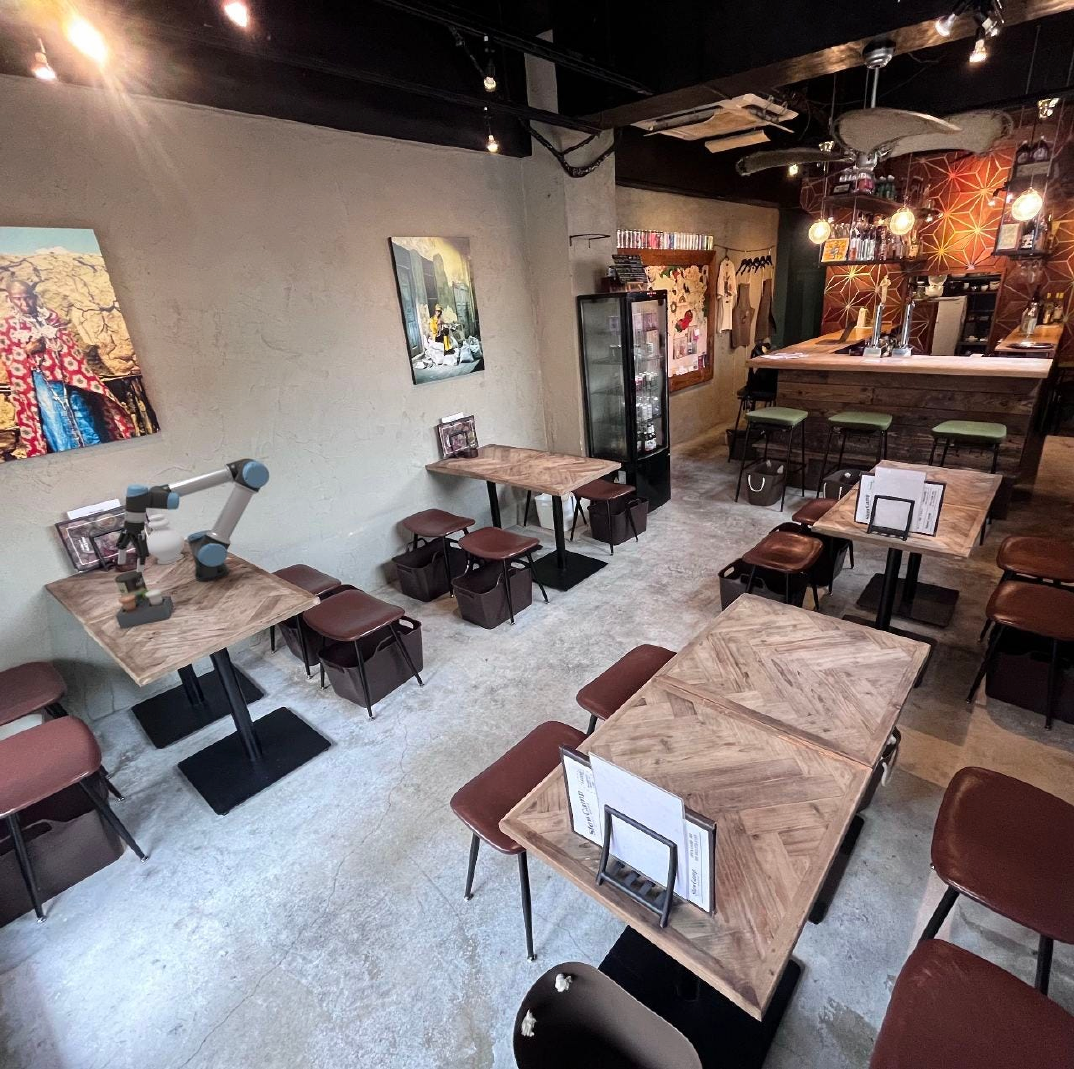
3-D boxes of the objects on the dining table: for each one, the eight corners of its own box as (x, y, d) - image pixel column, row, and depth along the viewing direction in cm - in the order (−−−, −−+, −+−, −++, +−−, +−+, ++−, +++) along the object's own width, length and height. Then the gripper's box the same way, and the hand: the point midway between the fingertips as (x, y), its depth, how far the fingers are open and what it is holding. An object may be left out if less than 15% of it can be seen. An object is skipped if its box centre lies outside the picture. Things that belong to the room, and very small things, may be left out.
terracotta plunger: (141, 606, 252) (136, 592, 249) (137, 612, 247) (132, 598, 244) (125, 609, 250) (120, 595, 248) (121, 615, 245) (116, 601, 242)
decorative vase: (193, 557, 314) (180, 514, 305) (157, 569, 302) (141, 524, 293) (183, 550, 326) (169, 508, 316) (147, 560, 314) (132, 517, 305)
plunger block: (174, 606, 260) (170, 594, 257) (168, 618, 249) (164, 606, 247) (128, 616, 254) (123, 604, 252) (120, 628, 244) (115, 616, 241)
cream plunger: (167, 601, 255) (162, 587, 252) (164, 607, 250) (159, 593, 247) (151, 604, 253) (147, 590, 251) (148, 610, 248) (143, 596, 245)
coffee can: (155, 596, 271) (145, 569, 266) (145, 606, 262) (134, 578, 256) (131, 599, 270) (121, 572, 265) (120, 609, 260) (109, 581, 255)
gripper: (108, 514, 252) (104, 561, 256) (143, 527, 243) (139, 576, 246) (126, 514, 259) (122, 559, 262) (161, 526, 249) (157, 574, 253)
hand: (130, 567), depth 254 cm, fingers open, 13 cm apart
